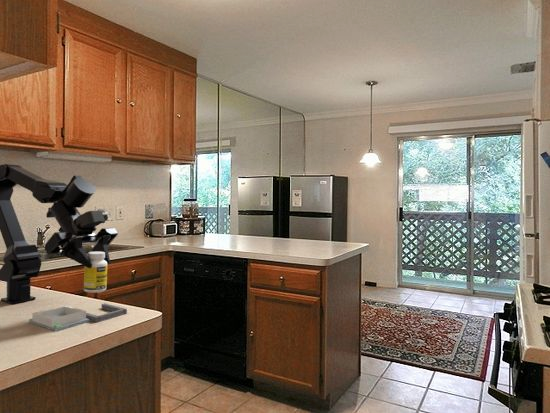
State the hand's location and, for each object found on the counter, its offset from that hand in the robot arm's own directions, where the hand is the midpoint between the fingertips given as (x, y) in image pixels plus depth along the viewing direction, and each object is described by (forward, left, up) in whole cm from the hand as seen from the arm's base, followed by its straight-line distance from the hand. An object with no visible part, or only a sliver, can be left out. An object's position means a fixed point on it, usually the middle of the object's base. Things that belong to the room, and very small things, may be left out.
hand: (100, 265), depth 100 cm
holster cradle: (-1, +1, -13) cm, 13 cm away
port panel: (-4, -8, -13) cm, 16 cm away
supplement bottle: (-1, 0, -7) cm, 7 cm away
